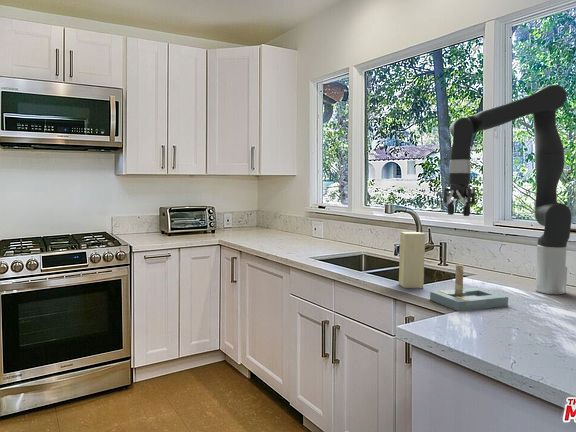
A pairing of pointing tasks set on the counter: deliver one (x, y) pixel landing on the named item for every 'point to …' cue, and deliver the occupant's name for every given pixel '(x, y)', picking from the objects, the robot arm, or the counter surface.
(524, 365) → the counter surface
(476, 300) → the keyhole board
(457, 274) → the boss peg
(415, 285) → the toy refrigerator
